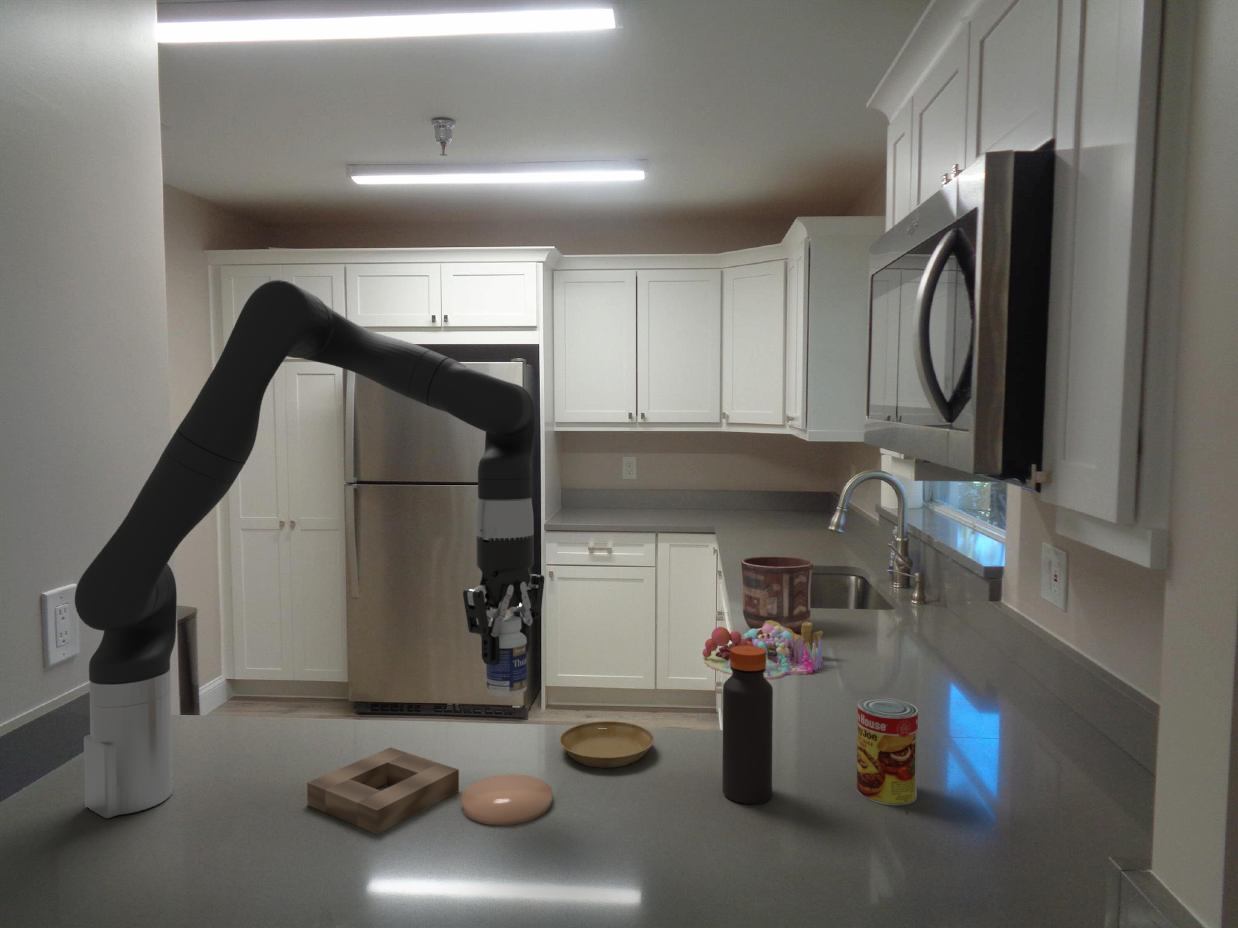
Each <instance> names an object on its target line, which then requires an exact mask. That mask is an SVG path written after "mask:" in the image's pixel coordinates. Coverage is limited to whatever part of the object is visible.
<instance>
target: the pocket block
mask: <svg viewBox="0 0 1238 928" xmlns="http://www.w3.org/2000/svg"><path fill="white" fill-rule="evenodd" d="M459 771H460V770H459V769H458V768H455V767H452V766H449V765H446V764H443V763H440V762H436V761H433V760H430V759H427V758H425V757H420V756H418V755H415V754H412V753H410V752H406V751H402V750H399V749H396V748H395V747H394V748H393V747H388V748H385V749H383V750H381V751H379V752H376V753H374V754H372V755H369V756H366V757H364V758H362V759H360V760H357V761H355V762H353V763H351V764H348V765H346V766H344V767H341V768H338V769H336V770H334V771H331V772H329V773H326V774H325V775H322V776H320V777H318V778H315V779H313V780H310V781H307V782H306V785H307V786H306V789H307V790H306V791H307V806H309V807H312V808H314V809H317V810H318V811H321V812H324V813H326V814H328V815H329V816H330V815H331V816H333V817H335V818H338V819H340V820H343V821H344V822H348V823H349V824H351V825H352V824H353V825H355V826H357V827H359V828H362V829H364V830H367V831H369V832H371V833H373V834H376V835H379V834H380V833H382V832H384V831H386V830H388V829H390V828H392V827H395V826H396V825H398V824H399V823H401V822H403V821H405V820H407V819H409V818H411V817H412V816H414V815H416V814H418V813H420V812H422V811H424V810H425V809H427V808H430V807H431V806H433V805H435V804H436V803H439V802H440V801H442V800H445V799H446V798H448V797H449V796H451V795H453V794H455V793H458V792H459V791H460V782H459V781H460V780H459V778H460V776H459V775H460V774H459V773H460V772H459ZM386 784H389V785H391V786H389V787H386V788H385V789H383V790H380V789H378V788H380V787H382V786H384V785H386Z"/></svg>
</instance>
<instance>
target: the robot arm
mask: <svg viewBox="0 0 1238 928" xmlns="http://www.w3.org/2000/svg"><path fill="white" fill-rule="evenodd" d="M287 357H288V358H293V359H302V360H306V361H311V362H316V363H321V364H324V365H325V364H326V365H329V366H334V367H337V368H340V369H344V370H347V371H349V372H353V373H355V374H358V375H361V376H363V377H365V378H367V379H368V380H371V381H373V382H375V383H377V384H379V385H381V386H383V387H385V388H387V389H389V390H391V391H392V392H395V393H397V394H399V395H402V396H404V397H406V398H409V399H411V400H414V401H416V402H418V403H421V404H423V405H426V406H428V407H430V408H433V409H435V410H439V411H443V412H445V413H448V414H449V415H450V416H453V417H454V418H456V419H458V420H460V421H462V422H464V423H466V424H468V425H470V426H471V427H474V428H476V429H479V430H481V431H483V432H485V439H484V441H485V442H484V453H483V455H482V457H481V458H480V460H479V463H478V467H477V498H478V499H477V508H476V516H475V517H476V523H475V524H476V526H475V527H476V567H477V568H478V569H479V570H480V571H481V578H480V581H479V585H477V586H475V587H474V588H465V589H464V590H463V592H462V596H463V605H464V609H465V610H464V611H465V616H466V622H467V628H468V632H469V633H470V634H475V635H476V634H477V635H479V636H480V638H481V659H482V661H483V663H484V664H485V665H486V664H489V665H496V664H498V663H499V636H497V635H498V632H499V628H500V624H501V621H502V620H503V619H504V618H505V616H507V612H510V616H517V617H520V618H521V630H520V632H521V633H523V634H524V635H525V636H526V639H527V654H528V653H529V651H530V644H531V628H530V627H531V625H532V624H533V621H534V620H535V619H539V618H541V615H542V614H541V613H542V605H543V604H542V603H543V596H544V587H545V576H544V575H543V574H535V573H534V574H533V573H531V572H530V571H529V569H530V568H532V567H533V566H534V564H535V563H534V562H535V559H534V558H535V553H534V552H535V551H534V549H535V548H534V546H535V545H534V543H535V542H534V541H535V540H534V539H535V538H534V535H535V534H534V531H535V530H534V529H535V528H534V511H533V502H532V469H531V459H532V454H533V453H532V452H533V447H534V446H533V445H534V437H535V429H536V412H535V411H536V408H535V404H534V400H533V398H532V396H531V394H530V393H529V391H528V390H527V389H526V388H525V387H524V386H521V385H520V384H519V385H518V384H516V383H512V382H510V381H506V380H503V379H500V378H498V377H494V376H492V375H489V374H486V373H483V372H481V371H478V370H474V369H472V368H469V367H467V366H466V365H464V364H463V363H461V362H460V361H458V360H456V359H453V358H451V357H449V356H446V355H443V354H442V353H438V352H436V351H434V350H431V349H429V348H426V347H423V346H421V345H417V344H415V343H412V342H409V341H405V340H401V339H397V338H393V337H390V336H386V335H383V334H380V333H377V332H374V331H372V330H369V329H368V328H365V327H363V326H361V325H359V324H357V323H355V322H353V321H352V320H350V319H348V318H347V317H345V316H344V315H342V314H340V313H338V312H337V311H335V310H334V309H332V307H330V306H328V305H327V304H325V303H324V302H323V300H321V298H319V297H318V296H317V295H314V294H313V293H311V292H310V291H309V290H306V289H305V288H303V287H302V286H300V285H298V284H297V283H294V282H293V281H289V280H286V279H273V280H270V281H266V282H265V283H263V284H262V285H260V286H258V287H257V288H256V289H255V290H254V291H253V292H252V293H251V294H250V296H249V297H248V299H247V300H246V301H245V303H244V305H243V306H242V309H241V311H240V313H239V315H238V318H237V320H236V321H235V324H234V326H233V328H232V330H231V332H230V335H229V337H228V340H227V341H226V344H225V346H224V349H223V350H222V352H221V355H220V357H219V359H218V360H217V362H216V364H215V366H214V367H213V370H212V371H211V373H210V375H209V376H208V378H207V379H206V381H205V382H204V384H203V386H202V388H201V390H200V391H199V393H198V394H197V396H196V399H195V401H194V402H193V404H192V406H191V407H190V409H189V410H188V412H187V413H186V415H185V417H183V420H182V421H181V422H180V424H179V425H178V427H177V428H176V430H175V432H174V433H173V435H172V437H171V438H170V440H169V442H168V443H167V445H166V446H165V448H164V450H163V451H162V453H161V455H160V457H159V459H158V461H157V463H156V464H155V466H154V468H153V469H152V471H151V473H150V475H149V477H148V478H147V480H146V481H145V483H144V485H142V488H141V490H140V492H139V493H138V495H137V497H136V498H135V501H134V502H133V504H132V506H131V507H130V509H129V510H128V512H127V514H126V516H125V518H124V519H123V520H122V522H121V524H120V525H119V526H118V528H117V529H116V531H115V532H114V533H113V534H112V535H111V537H110V538H109V539H108V541H107V542H106V544H105V545H104V546H103V547H102V549H101V550H100V551H99V553H98V554H97V555H96V556H95V558H94V559H92V561H91V563H90V564H89V566H88V567H87V568H86V569H85V571H84V572H83V573H82V575H81V577H80V578H79V580H78V583H77V585H76V589H75V592H74V606H75V610H76V613H77V615H78V617H79V619H80V620H81V621H82V622H83V623H84V624H85V625H86V626H88V627H89V628H92V629H94V630H98V631H103V635H102V639H101V641H100V643H99V645H98V647H97V649H96V650H95V652H94V653H93V654H92V656H91V657H90V660H89V662H88V663H89V664H88V680H89V681H88V682H89V683H88V684H89V723H90V724H89V727H90V729H89V732H90V734H87V735H85V736H84V738H83V767H84V798H85V799H84V806H86V807H85V808H87V807H88V808H89V810H90V811H92V812H94V813H95V814H96V815H99V816H101V817H102V818H105V819H110V818H113V817H116V816H119V815H121V816H122V815H127V814H131V813H132V814H133V813H137V812H141V811H144V810H145V811H146V810H148V809H150V808H152V807H155V806H157V805H159V804H161V803H162V802H164V801H166V800H167V799H168V798H170V797H171V795H172V794H173V780H174V778H173V759H172V758H173V756H172V753H173V752H172V751H173V750H172V749H173V748H172V700H171V699H172V697H171V695H172V693H171V690H172V689H171V656H172V652H173V651H174V647H175V643H176V634H177V605H178V604H177V597H178V594H177V584H176V583H177V582H176V579H175V575H174V572H173V570H172V568H171V567H170V565H169V564H168V563H169V561H170V560H171V557H172V556H173V555H174V553H175V551H176V549H177V548H178V547H179V545H180V544H181V542H182V541H183V540H184V539H185V538H186V537H187V536H188V535H189V534H190V533H191V531H193V530H194V529H195V528H196V526H198V525H199V524H200V523H201V521H203V519H204V518H206V516H208V514H209V513H210V512H211V511H213V509H214V508H215V507H216V506H217V505H218V504H219V502H220V501H221V500H222V499H223V498H224V497H225V495H226V494H227V493H228V491H229V490H230V489H231V487H232V486H233V484H234V482H235V481H236V479H237V478H238V476H239V475H240V474H241V471H242V469H243V468H244V466H245V465H246V463H247V461H248V460H249V458H250V455H251V453H252V451H253V448H254V446H255V444H256V443H255V442H256V440H257V434H258V429H259V423H260V415H261V408H262V403H263V401H264V400H263V399H264V396H265V393H266V391H267V388H268V387H269V385H270V382H271V381H272V379H273V377H274V376H275V374H276V373H277V371H278V370H279V368H280V367H281V365H282V364H283V362H284V361H285V359H286V358H287ZM532 600H533V607H532V605H531V603H532ZM491 609H492V610H496V611H492V610H491ZM492 618H493V620H492V624H491V623H490V622H491V619H492ZM489 624H490V625H489ZM88 808H87V809H88Z"/></svg>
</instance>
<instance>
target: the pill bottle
mask: <svg viewBox="0 0 1238 928" xmlns="http://www.w3.org/2000/svg"><path fill="white" fill-rule="evenodd" d="M492 620H493V618H491V619H490V622H491V623H490V625H491V624H492ZM520 630H521V618H520V617H517V616H512V615H506V616H505V618H504V619H503V620H502V621H501V624H500V628H499V632H498V635H497V636H499V663H498V664H496V665H489V664H485V665H486V667H485V668H486V673H485V674H486V675H485V676H486V680H485V681H486V691H487V693H488V694H489V695H491V696H496V697H513V696H517V695H518V696H519V695H520V694H524V693H525V691H526V690H527V688H528V660H527V659H528V653H527V639H526V636H525V635H524V634H523V633H521V632H520Z"/></svg>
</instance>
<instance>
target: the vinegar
mask: <svg viewBox="0 0 1238 928" xmlns="http://www.w3.org/2000/svg"><path fill="white" fill-rule="evenodd" d="M730 666H731V667H730V669H731V670H732V675H730V677H728V678H727V679H726V680H725V682H723V686H722V781H721V782H722V789H721V791H722V793H723V794H724V796H725V797H726V798H728V799H729V800H731V801H733V802H736V803H738V804H745V805H758V804H762V803H766V802H767V801H769V800H770V799H771V797H772V795H773V725H774V723H773V720H774V719H773V714H774V713H773V709H774V707H773V702H774V701H773V699H774V698H773V697H774V693H773V692H774V689H773V686H772V684H771V683H770V682H769V681H768V679H765V678H764V672H765V671H766V651H765V650H764V649H763V648H760V647H756V646H736V647H733V648H731V649H730Z"/></svg>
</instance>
